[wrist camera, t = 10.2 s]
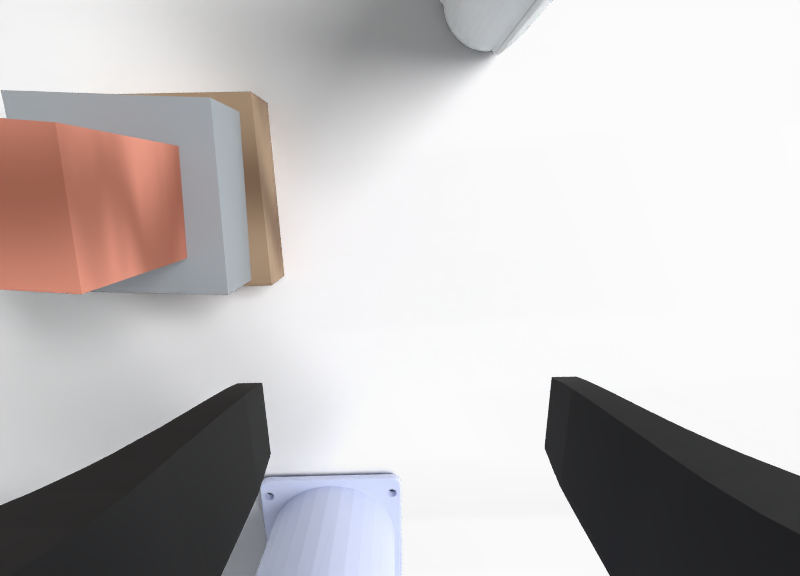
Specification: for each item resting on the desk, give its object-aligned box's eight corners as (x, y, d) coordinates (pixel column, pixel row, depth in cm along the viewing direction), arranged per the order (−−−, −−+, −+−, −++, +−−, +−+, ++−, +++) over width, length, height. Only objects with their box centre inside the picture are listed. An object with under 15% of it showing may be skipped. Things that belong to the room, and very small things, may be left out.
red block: (187, 258, 14) (81, 293, 9) (78, 251, 14) (-85, 284, 9) (178, 145, 13) (55, 121, 8) (62, 137, 13) (-132, 108, 8)
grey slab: (251, 279, 17) (228, 294, 15) (94, 275, 17) (44, 290, 15) (239, 111, 15) (210, 97, 13) (63, 105, 15) (1, 90, 13)
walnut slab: (286, 273, 20) (271, 285, 17) (131, 277, 20) (94, 289, 17) (270, 105, 18) (250, 91, 15) (97, 108, 18) (49, 95, 15)
